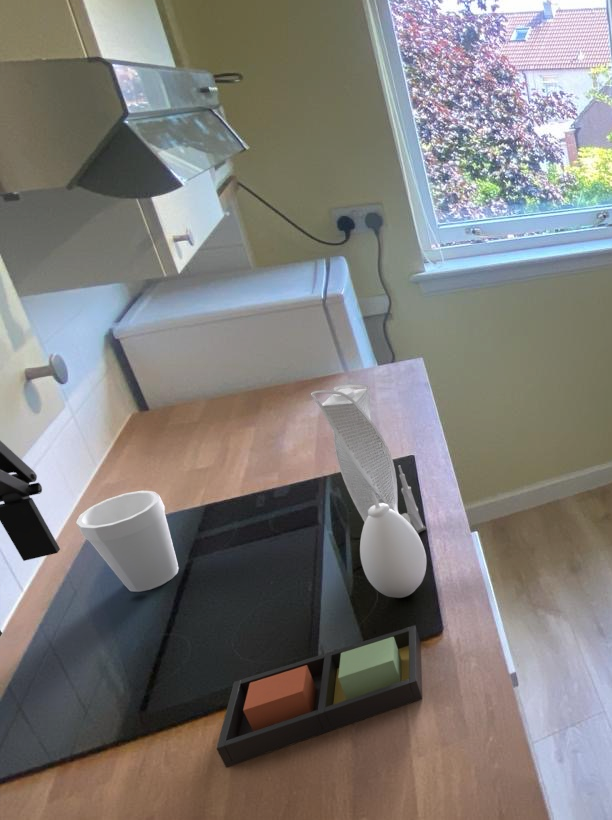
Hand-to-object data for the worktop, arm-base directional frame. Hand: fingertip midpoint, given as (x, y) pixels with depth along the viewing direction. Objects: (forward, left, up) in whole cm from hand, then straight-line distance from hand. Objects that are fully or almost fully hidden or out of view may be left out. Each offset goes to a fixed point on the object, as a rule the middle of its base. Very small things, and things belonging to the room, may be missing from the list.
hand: (14, 595), depth 71 cm
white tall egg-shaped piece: (+28, +19, -27) cm, 44 cm away
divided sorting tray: (+20, +2, -27) cm, 33 cm away
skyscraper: (+26, +37, -27) cm, 53 cm away
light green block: (+25, +2, -26) cm, 36 cm away
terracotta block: (+15, +2, -26) cm, 30 cm away
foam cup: (-7, +42, -27) cm, 50 cm away
